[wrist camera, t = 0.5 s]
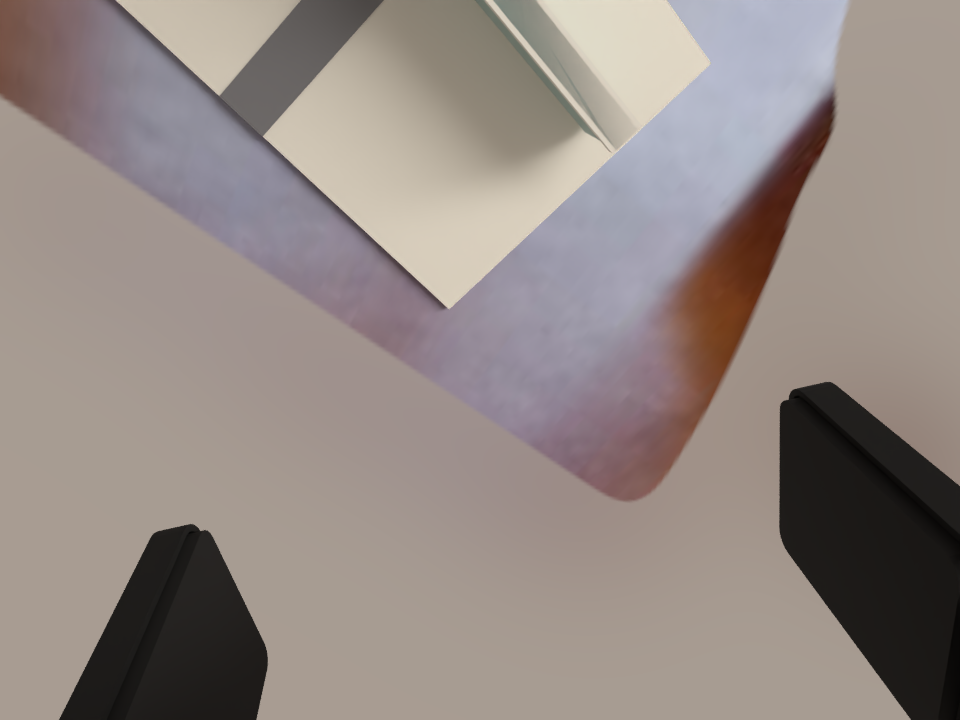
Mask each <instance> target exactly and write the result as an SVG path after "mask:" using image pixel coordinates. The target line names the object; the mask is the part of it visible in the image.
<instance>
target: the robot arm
mask: <svg viewBox="0 0 960 720" xmlns="http://www.w3.org/2000/svg"><path fill="white" fill-rule="evenodd" d="M779 523H780V525H779V527H780V535H781V539H782V542H783V544H784V546H785V549H786V550H787V552H788V553H789V555H790V556H791V557H792V559H793V560H794V562H795V563H796V564H797V566H798V567H799V568H800V570H801V571H802V572H803V574H804V575H805V576H806V578H807V579H808V580H809V582H810V583H811V584H812V586H813V587H814V589H815V590H816V591H817V593H818V594H819V595H820V597H821V598H822V599H823V601H824V602H825V604H826V605H827V606H828V608H829V609H830V610H831V612H832V613H833V614H834V616H835V617H836V618H837V620H838V621H839V622H840V624H841V625H842V627H843V628H844V629H845V631H846V632H847V633H848V635H849V636H850V637H851V639H852V640H853V641H854V643H855V644H856V646H857V647H858V648H859V650H860V651H861V652H862V654H863V655H864V656H865V658H866V659H867V660H868V662H869V663H870V665H871V666H872V667H873V669H874V670H875V671H876V673H877V674H878V675H879V677H880V678H881V680H882V681H883V682H884V683H885V685H886V686H887V688H888V689H889V690H890V692H891V693H892V694H893V696H894V697H895V698H896V700H897V701H898V703H899V704H900V705H901V707H902V708H903V709H904V711H905V712H906V713H907V715H908V716H909V717H910V719H911V720H960V486H959V485H958V484H956V483H955V482H954V481H953V480H952V479H950V478H949V477H948V476H947V475H945V474H944V473H943V472H942V471H940V470H939V469H938V468H937V467H936V466H934V465H933V464H932V463H931V462H929V461H928V460H927V459H926V458H924V457H923V456H922V455H921V454H919V453H918V452H917V451H916V450H915V449H913V448H912V447H911V446H910V445H909V444H907V443H906V442H905V441H904V440H902V439H901V438H900V437H899V436H898V435H896V434H895V433H894V432H892V431H891V430H890V429H889V428H888V427H887V426H885V425H884V424H883V423H882V422H880V421H879V420H878V419H877V418H875V417H874V416H873V415H872V414H870V413H869V412H868V411H867V410H866V409H865V408H863V407H862V406H861V405H860V404H858V403H857V402H856V401H855V400H854V399H852V398H851V397H850V396H849V395H847V394H846V393H845V392H844V391H842V390H841V389H840V388H839V387H838V386H836V385H835V384H833V383H831V382H824V383H820V384H816V385H811V386H807V387H802V388H798V389H794V390H792V391H791V393H790V395H789V400H786V401H783V402H782V403H781V406H780V521H779ZM267 666H268V657H267V650H266V647H265V644H264V642H263V640H262V638H261V635H260V633H259V631H258V629H257V627H256V625H255V623H254V621H253V619H252V617H251V615H250V613H249V611H248V609H247V607H246V605H245V602H244V600H243V598H242V596H241V594H240V592H239V590H238V588H237V586H236V584H235V582H234V580H233V578H232V576H231V574H230V572H229V569H228V567H227V565H226V563H225V561H224V559H223V557H222V555H221V554H220V551H219V549H218V547H217V545H216V543H215V541H214V539H213V537H212V535H211V534H210V533H209V532H208V531H206V530H204V531H200V530H199V528H198V527H196V526H195V525H193V524H189V525H184V526H180V527H175V528H171V529H166V530H162V531H158V532H156V533H154V534H153V535H152V537H151V538H150V540H149V542H148V544H147V546H146V548H145V550H144V552H143V554H142V556H141V558H140V560H139V562H138V564H137V566H136V568H135V570H134V572H133V574H132V576H131V578H130V580H129V582H128V584H127V586H126V588H125V590H124V592H123V594H122V596H121V598H120V600H119V602H118V604H117V606H116V608H115V610H114V612H113V614H112V616H111V618H110V620H109V622H108V624H107V626H106V628H105V630H104V632H103V634H102V636H101V638H100V640H99V642H98V644H97V646H96V647H95V649H94V652H93V653H92V656H91V657H90V660H89V661H88V664H87V666H86V667H85V670H84V671H83V674H82V675H81V677H80V679H79V682H78V683H77V685H76V687H75V689H74V692H73V693H72V695H71V697H70V699H69V701H68V703H67V705H66V708H65V709H64V711H63V713H62V715H61V717H60V719H59V720H256V718H257V714H258V709H259V704H260V700H261V695H262V691H263V686H264V681H265V677H266V672H267Z"/></svg>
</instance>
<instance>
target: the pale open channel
mask: <svg viewBox="0 0 960 720" xmlns="http://www.w3.org/2000/svg"><path fill="white" fill-rule="evenodd" d="M475 1H476V2H477V3H478V5H479V6H480V7H481V8H482V9H483V11H484V12H485V13H486V14H487V15H488V17H489V18H490V19H491V20H492V21H493V23H494V24H495V25H496V26H497V27H498V29H499V30H500V31H501V32H502V33H503V35H504V36H505V37H506V38H507V39H508V41H509V42H510V43H511V44H512V45H513V47H514V48H515V49H516V50H517V51H518V53H519V54H520V55H521V56H522V57H523V59H524V60H525V61H526V62H527V63H528V65H529V66H530V67H531V68H532V69H533V71H534V72H535V73H536V74H537V75H538V77H539V78H540V79H541V80H542V81H543V83H544V84H545V85H546V86H547V87H548V89H549V90H550V91H551V92H552V93H553V95H554V96H555V97H556V98H557V99H558V101H559V102H560V103H561V104H562V105H563V106H564V108H565V109H566V110H567V111H568V112H569V114H570V115H571V116H572V117H573V118H574V120H575V121H576V122H577V123H578V124H579V126H580V127H581V128H582V129H583V130H584V132H585V133H587V134H589V135H591V136H592V137H594V138H596V139H598V140H599V141H601V143H602V144H603V145H604V146H605V147H606V149H607V150H608V151H609V152H611V153H613V152H614V151H616V150H617V149H618V148H619V147H620V146H621V145H622V144H623V143H624V142H625V141H626V140H627V139H628V138H629V137H630V136H632V135H633V134H634V133H635V132H636V131H637V130H638V129H639V128H640V127H641V126H642V125H641V124H640V123H639V122H638V120H637V119H636V118H635V116H634V115H633V114H632V113H631V111H630V110H629V109H628V108H627V106H626V105H625V104H624V103H623V101H622V100H621V99H620V97H619V96H618V95H617V94H616V92H615V91H614V90H613V89H612V87H611V86H610V85H609V83H608V82H607V81H606V80H605V78H604V77H603V76H602V75H601V73H600V72H599V71H598V70H597V68H596V67H595V66H594V64H593V63H592V62H591V61H590V59H589V58H588V57H587V56H586V54H585V53H584V52H583V50H582V49H581V48H580V47H579V45H578V44H577V43H576V42H575V40H574V39H573V38H572V37H571V35H570V34H569V33H568V31H567V30H566V29H565V28H564V26H563V25H562V24H561V23H560V21H559V20H558V19H557V17H556V16H555V15H554V14H553V12H552V11H551V10H550V9H549V7H548V6H547V5H546V4H545V2H544V1H543V0H475Z"/></svg>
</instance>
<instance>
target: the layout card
mask: <svg viewBox="0 0 960 720" xmlns="http://www.w3.org/2000/svg"><path fill="white" fill-rule="evenodd" d="M116 1H117V2H118V3H119V4H120V5H122V6H123V7H124V8H125V9H126V10H127V11H128V12H129V13H130V14H131V15H132V16H133V17H134V18H136V19H137V20H138V21H139V22H140V23H141V24H142V25H143V26H144V27H145V28H146V29H147V30H148V31H150V32H151V33H152V34H153V35H154V36H155V37H156V38H157V39H158V40H159V41H160V42H161V43H163V44H164V45H165V46H166V47H167V48H168V49H169V50H170V51H171V52H172V53H173V54H174V55H175V56H177V57H178V58H179V59H180V60H181V61H182V62H183V63H184V64H185V65H186V66H187V67H188V68H189V69H191V70H192V71H193V72H194V73H195V74H196V75H197V76H198V77H199V78H200V79H201V80H202V81H203V82H205V83H206V84H207V85H208V86H209V87H210V88H211V89H212V90H213V91H214V92H215V93H216V94H218V95H219V97H220V98H221V99H222V100H223V101H224V102H225V103H226V104H228V105H229V106H230V107H231V108H232V109H233V110H234V111H235V112H236V113H237V114H238V115H239V116H241V117H242V118H243V119H244V120H245V121H246V122H247V123H248V124H249V125H250V126H251V127H252V128H253V129H255V130H256V131H257V132H258V133H259V134H260V135H261V136H262V137H264V138H265V139H266V140H267V141H268V142H269V143H270V144H271V145H273V146H274V147H275V148H276V149H277V150H278V151H279V152H280V153H281V154H282V155H283V156H284V157H285V158H287V159H288V160H289V161H290V162H291V163H292V164H293V165H294V166H295V167H296V168H297V169H298V170H299V171H301V172H302V173H303V174H304V175H305V176H306V177H307V178H308V179H309V180H310V181H311V182H312V183H313V184H315V185H316V186H317V187H318V188H319V189H320V190H321V191H322V192H323V193H324V194H325V195H326V196H327V197H329V198H330V199H331V200H332V201H333V202H334V203H335V204H336V205H337V206H338V207H339V208H340V209H342V210H343V211H344V212H345V213H346V214H347V215H348V216H349V217H350V218H351V219H352V220H353V221H354V222H356V223H357V224H358V225H359V226H360V227H361V228H362V229H363V230H364V231H365V232H366V233H367V234H368V235H370V236H371V237H372V238H373V239H374V240H375V241H376V242H377V243H378V244H379V245H380V246H381V247H382V248H384V249H385V250H386V251H387V252H388V253H389V254H390V255H391V256H392V257H393V258H394V259H395V260H397V261H398V262H399V263H400V264H401V265H402V266H403V267H404V268H405V269H406V270H407V271H408V272H409V273H411V274H412V275H413V276H414V277H415V278H416V279H417V280H418V281H419V282H420V283H421V284H422V285H423V286H425V287H426V288H427V289H428V290H429V291H430V292H431V293H432V294H433V295H434V296H435V297H436V298H437V299H439V300H440V301H441V302H442V303H443V304H444V305H445V306H446V307H447V308H448V309H450V308H451V307H452V306H453V305H454V304H455V303H456V302H457V301H458V300H460V299H461V298H462V297H463V296H464V295H465V294H466V293H467V292H468V291H469V290H470V289H471V288H472V287H473V286H474V285H476V284H477V283H478V282H479V281H480V280H481V279H482V278H483V277H484V276H485V275H486V274H487V273H488V272H489V271H490V270H492V269H493V268H494V267H495V266H496V265H497V264H498V263H499V262H500V261H501V260H502V259H503V258H504V257H505V256H506V255H508V254H509V253H510V252H511V251H512V250H513V249H514V248H515V247H516V246H517V245H518V244H519V243H520V242H521V241H522V240H524V239H525V238H526V237H527V236H528V235H529V234H530V233H531V232H532V231H533V230H534V229H535V228H536V227H537V226H538V225H540V224H541V223H542V222H543V221H544V220H545V219H546V218H547V217H548V216H549V215H550V214H551V213H552V212H553V211H554V210H555V209H557V208H558V207H559V206H560V205H561V204H562V203H563V202H564V201H565V200H566V199H567V198H568V197H569V196H570V195H571V194H573V193H574V192H575V191H576V190H577V189H578V188H579V187H580V186H581V185H582V184H583V183H584V182H585V181H586V180H587V179H589V178H590V177H591V176H592V175H593V174H594V173H595V172H596V171H597V170H598V169H599V168H600V167H601V166H602V165H603V164H605V163H606V162H607V161H608V160H609V159H610V158H611V157H612V156H613V155H614V154H615V153H616V152H617V151H618V150H619V149H621V148H622V147H623V146H624V145H625V144H626V143H627V142H628V141H629V140H630V139H631V138H632V137H633V136H634V135H635V134H636V133H638V132H639V131H640V130H641V129H642V128H643V127H644V126H645V125H646V124H647V123H648V122H649V121H650V120H651V119H652V118H654V117H655V116H656V115H657V114H658V113H659V112H660V111H661V110H662V109H663V108H664V107H665V106H666V105H667V104H668V103H670V102H671V101H672V100H673V99H674V98H675V97H676V96H677V95H678V94H679V93H680V92H681V91H682V90H683V89H684V88H686V87H687V86H688V85H689V84H690V83H691V82H692V81H693V80H694V79H695V78H696V77H697V76H698V75H699V74H700V73H702V72H703V71H704V70H705V69H706V68H707V67H708V66H709V65H710V64H711V62H710V61H709V60H708V58H707V57H706V55H705V54H704V52H703V51H702V50H701V48H700V47H699V45H698V44H697V42H696V41H695V40H694V38H693V37H692V35H691V34H690V33H689V31H688V30H687V28H686V27H685V25H684V24H683V23H682V21H681V20H680V18H679V17H678V15H677V14H676V13H675V11H674V10H673V8H672V7H671V6H670V4H669V3H668V1H667V0H543V1H544V2H545V4H546V5H547V6H548V7H549V9H550V10H551V11H552V12H553V14H554V15H555V16H556V17H557V19H558V20H559V21H560V23H561V24H562V25H563V26H564V28H565V29H566V30H567V31H568V33H569V34H570V35H571V37H572V38H573V39H574V40H575V42H576V43H577V44H578V45H579V47H580V48H581V49H582V50H583V52H584V53H585V54H586V56H587V57H588V58H589V59H590V61H591V62H592V63H593V64H594V66H595V67H596V68H597V70H598V71H599V72H600V73H601V75H602V76H603V77H604V78H605V80H606V81H607V82H608V83H609V85H610V86H611V87H612V89H613V90H614V91H615V92H616V94H617V95H618V96H619V97H620V99H621V100H622V101H623V103H624V104H625V105H626V106H627V108H628V109H629V110H630V111H631V113H632V114H633V115H634V116H635V118H636V119H637V120H638V122H639V123H640V124H641V125H642V126H641V127H640V128H639V129H638V130H637V131H636V132H635V133H634V134H633V135H632V136H630V137H629V138H628V139H627V140H626V141H625V142H624V143H623V144H622V145H621V146H620V147H619V148H618V149H617V150H616V151H614V152H613V153H611V152H609V151H608V150H607V149H606V147H605V146H604V145H603V144H602V143H601V141H599V140H598V139H596V138H594V137H592V136H591V135H589V134H587V133H585V132H584V130H583V129H582V128H581V127H580V126H579V124H578V123H577V122H576V121H575V120H574V118H573V117H572V116H571V115H570V114H569V112H568V111H567V110H566V109H565V108H564V106H563V105H562V104H561V103H560V102H559V101H558V99H557V98H556V97H555V96H554V95H553V93H552V92H551V91H550V90H549V89H548V87H547V86H546V85H545V84H544V83H543V81H542V80H541V79H540V78H539V77H538V75H537V74H536V73H535V72H534V71H533V69H532V68H531V67H530V66H529V65H528V63H527V62H526V61H525V60H524V59H523V57H522V56H521V55H520V54H519V53H518V51H517V50H516V49H515V48H514V47H513V45H512V44H511V43H510V42H509V41H508V39H507V38H506V37H505V36H504V35H503V33H502V32H501V31H500V30H499V29H498V27H497V26H496V25H495V24H494V23H493V21H492V20H491V19H490V18H489V17H488V15H487V14H486V13H485V12H484V11H483V9H482V8H481V7H480V6H479V5H478V3H477V2H476V1H475V0H116Z"/></svg>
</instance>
